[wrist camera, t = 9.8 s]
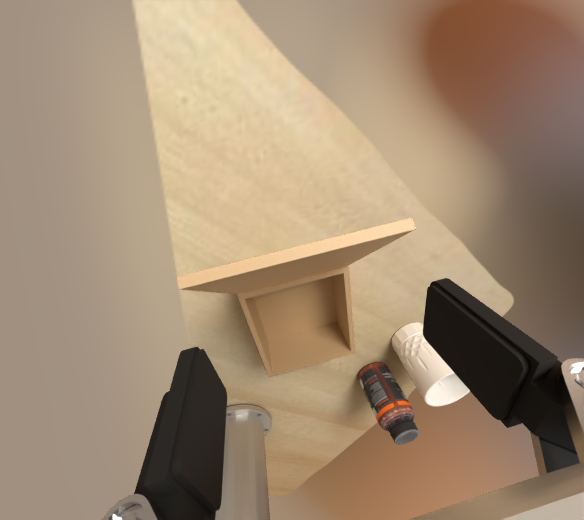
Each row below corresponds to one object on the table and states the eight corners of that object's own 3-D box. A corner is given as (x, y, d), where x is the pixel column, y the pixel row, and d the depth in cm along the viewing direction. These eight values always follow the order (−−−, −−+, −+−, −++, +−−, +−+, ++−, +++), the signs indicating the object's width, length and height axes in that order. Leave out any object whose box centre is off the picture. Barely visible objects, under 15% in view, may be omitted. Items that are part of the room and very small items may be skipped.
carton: (340, 321, 38) (355, 352, 33) (264, 342, 37) (268, 377, 32) (330, 243, 31) (348, 266, 26) (237, 266, 30) (236, 296, 25)
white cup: (435, 316, 41) (486, 366, 33) (423, 348, 45) (466, 400, 37) (392, 322, 40) (433, 376, 32) (384, 355, 44) (418, 410, 35)
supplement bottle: (351, 381, 46) (381, 449, 36) (364, 359, 44) (400, 427, 34) (378, 382, 48) (412, 447, 38) (392, 361, 45) (433, 426, 36)
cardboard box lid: (415, 228, 12) (411, 217, 12) (179, 289, 11) (176, 276, 11) (347, 265, 25) (346, 260, 26) (237, 294, 25) (236, 288, 25)
